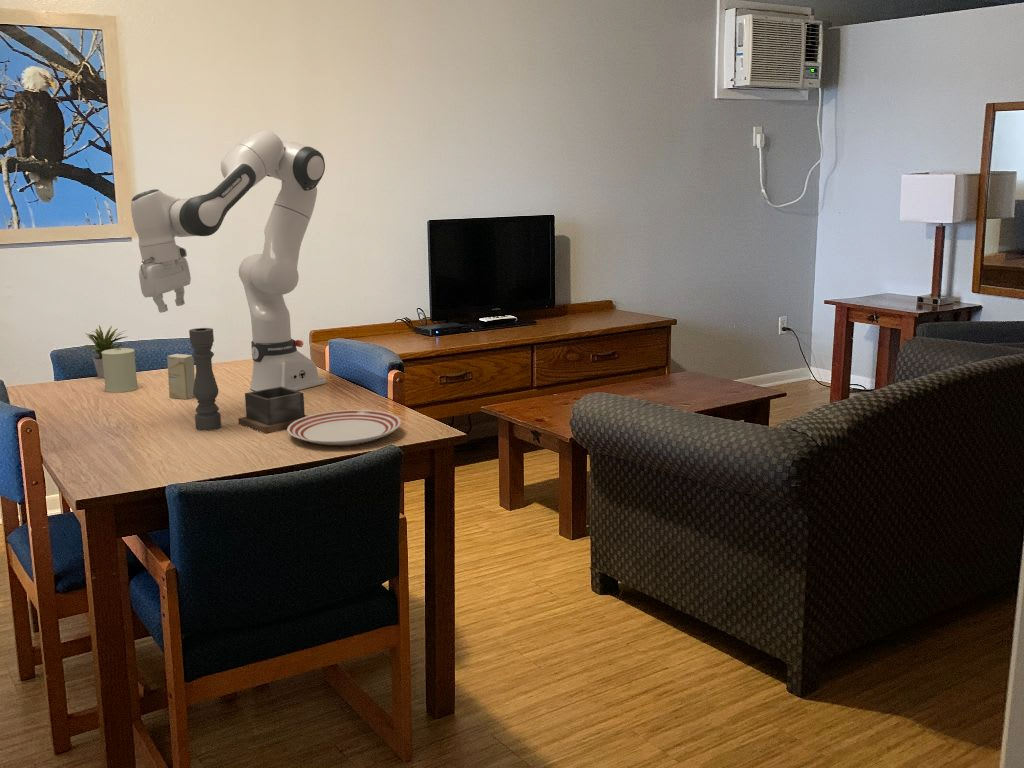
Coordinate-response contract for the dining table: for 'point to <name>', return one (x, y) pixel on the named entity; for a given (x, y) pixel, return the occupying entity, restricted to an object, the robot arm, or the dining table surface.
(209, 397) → the candle holder
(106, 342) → the house plant
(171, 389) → the skincare box
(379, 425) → the dinner plate
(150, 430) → the dining table surface
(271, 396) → the dark square box
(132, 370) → the can
